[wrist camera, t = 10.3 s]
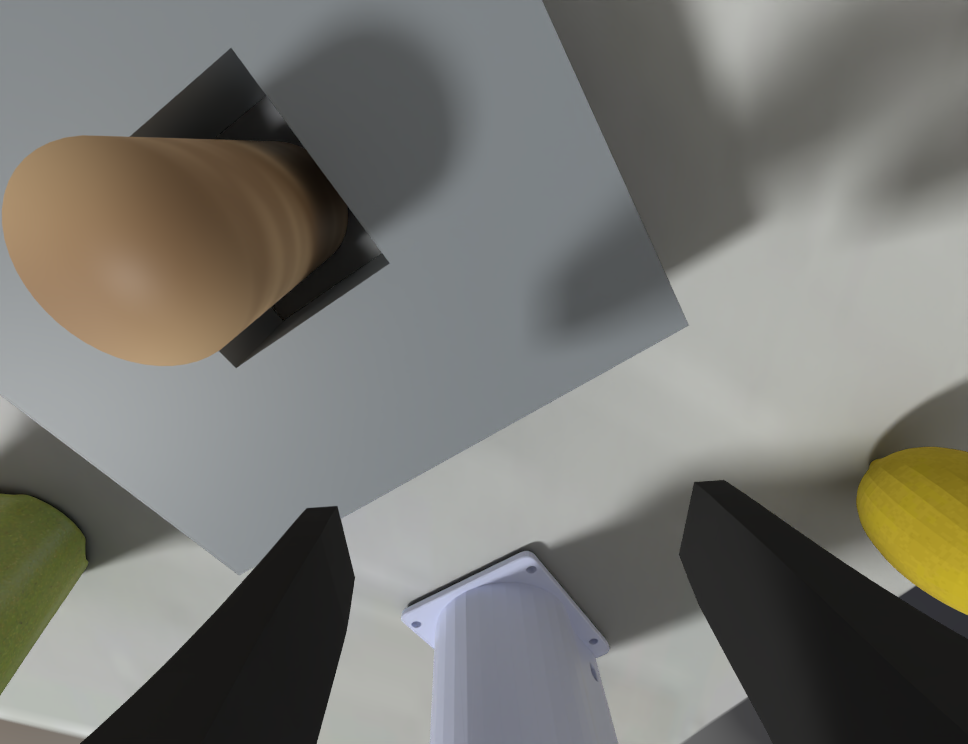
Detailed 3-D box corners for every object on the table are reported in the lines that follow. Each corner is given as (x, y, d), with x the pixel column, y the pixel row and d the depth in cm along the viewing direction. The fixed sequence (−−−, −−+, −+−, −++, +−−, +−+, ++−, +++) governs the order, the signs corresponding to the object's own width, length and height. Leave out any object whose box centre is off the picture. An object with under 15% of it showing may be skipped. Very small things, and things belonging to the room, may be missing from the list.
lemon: (793, 469, 21) (962, 632, 14) (905, 390, 20) (1161, 529, 12) (849, 525, 23) (1024, 694, 16) (956, 456, 21) (1205, 612, 14)
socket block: (640, 287, 17) (688, 325, 13) (277, 500, 21) (239, 575, 17) (307, -398, 10) (219, -713, 6) (-162, 114, 13) (-389, 102, 10)
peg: (372, 226, 16) (298, 294, 8) (284, 289, 16) (148, 400, 9) (289, 113, 14) (110, 77, 7) (196, 189, 15) (-51, 229, 8)
